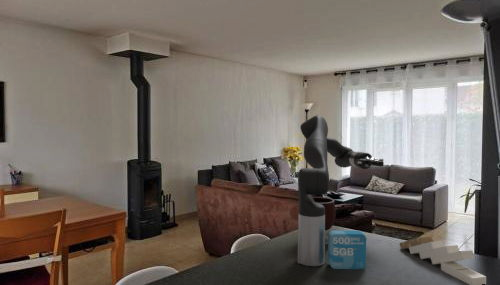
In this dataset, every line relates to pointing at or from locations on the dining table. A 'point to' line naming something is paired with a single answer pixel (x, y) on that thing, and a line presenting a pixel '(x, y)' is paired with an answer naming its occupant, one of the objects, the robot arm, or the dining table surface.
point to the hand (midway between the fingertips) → (381, 164)
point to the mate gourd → (326, 211)
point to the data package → (346, 249)
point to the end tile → (463, 273)
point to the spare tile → (415, 242)
